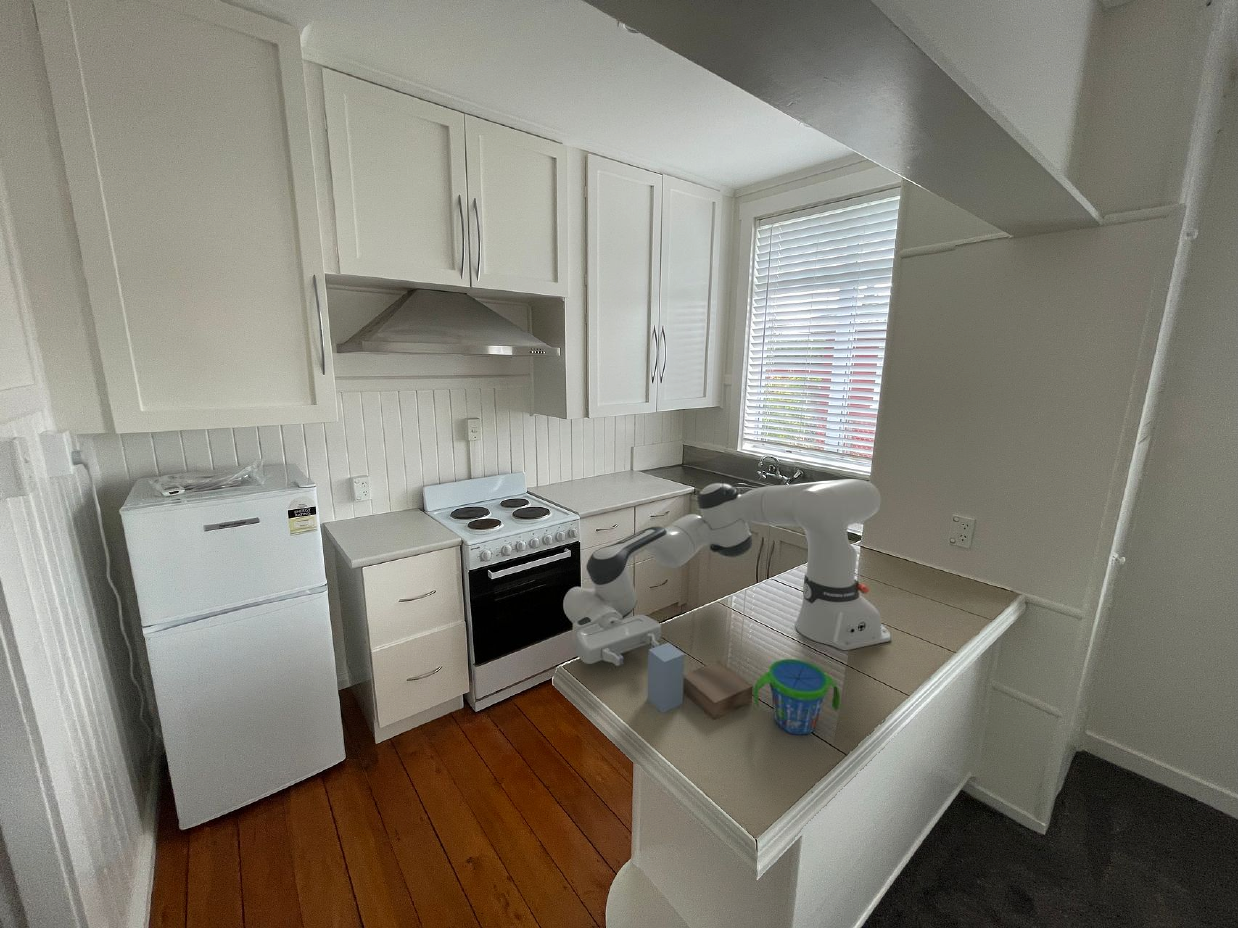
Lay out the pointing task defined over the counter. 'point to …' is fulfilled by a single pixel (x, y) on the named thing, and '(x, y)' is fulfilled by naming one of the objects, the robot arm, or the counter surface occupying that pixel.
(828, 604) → the robot arm
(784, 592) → the counter surface
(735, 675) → the walnut base
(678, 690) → the pillar
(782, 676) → the snack cup
